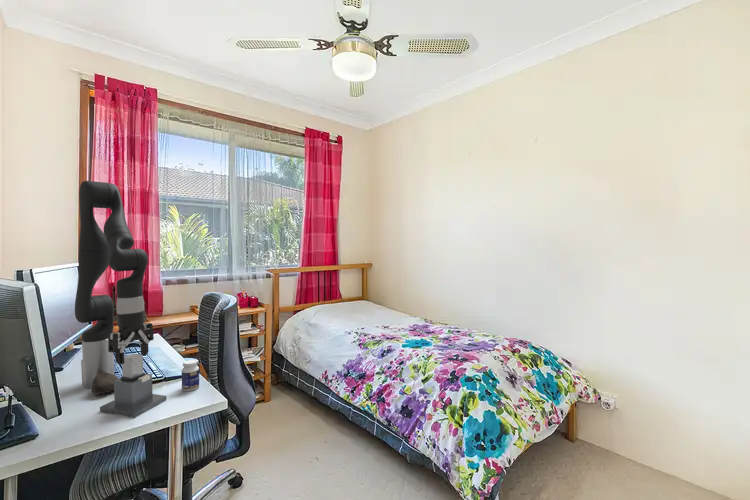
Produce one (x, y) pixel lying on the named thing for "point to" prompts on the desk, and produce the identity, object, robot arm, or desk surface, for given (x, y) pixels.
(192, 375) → the pill bottle
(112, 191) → the robot arm
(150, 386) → the stand
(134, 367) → the column
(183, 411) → the desk surface
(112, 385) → the stone
